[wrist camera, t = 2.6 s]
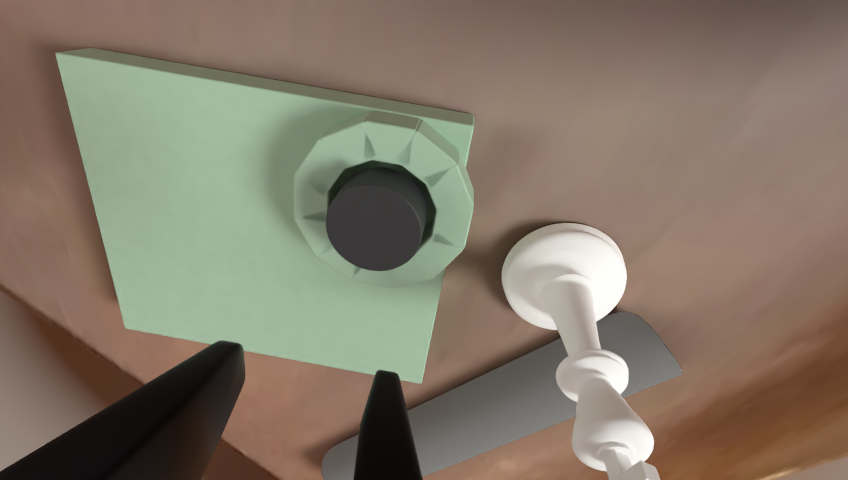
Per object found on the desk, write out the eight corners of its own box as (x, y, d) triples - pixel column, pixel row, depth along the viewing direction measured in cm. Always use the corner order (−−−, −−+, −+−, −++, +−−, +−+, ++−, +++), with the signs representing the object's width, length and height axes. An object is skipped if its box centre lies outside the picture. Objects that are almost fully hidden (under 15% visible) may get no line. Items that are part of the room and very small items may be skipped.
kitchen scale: (487, 116, 15) (489, 140, 13) (434, 361, 21) (428, 411, 19) (90, 47, 16) (14, 57, 13) (146, 307, 22) (101, 350, 19)
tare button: (433, 175, 14) (428, 194, 13) (420, 254, 15) (414, 279, 14) (341, 158, 14) (326, 176, 13) (336, 239, 16) (323, 262, 14)
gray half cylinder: (681, 361, 20) (698, 392, 18) (367, 488, 27) (361, 518, 26) (636, 298, 18) (651, 326, 17) (319, 450, 26) (309, 479, 24)
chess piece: (651, 258, 17) (821, 518, 9) (573, 337, 20) (647, 605, 11) (547, 200, 17) (622, 421, 8) (479, 290, 19) (481, 536, 10)
